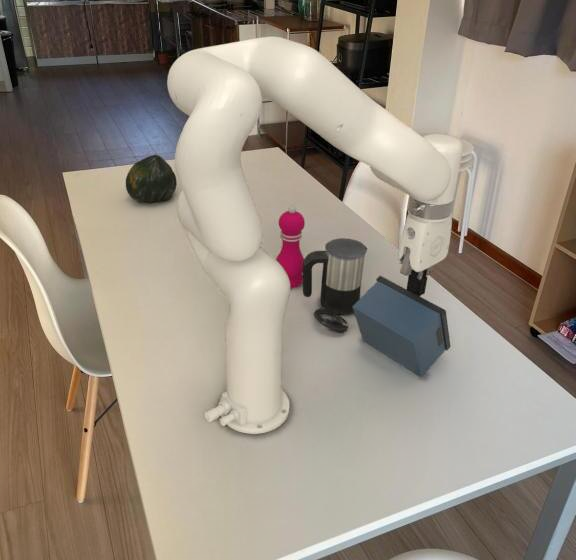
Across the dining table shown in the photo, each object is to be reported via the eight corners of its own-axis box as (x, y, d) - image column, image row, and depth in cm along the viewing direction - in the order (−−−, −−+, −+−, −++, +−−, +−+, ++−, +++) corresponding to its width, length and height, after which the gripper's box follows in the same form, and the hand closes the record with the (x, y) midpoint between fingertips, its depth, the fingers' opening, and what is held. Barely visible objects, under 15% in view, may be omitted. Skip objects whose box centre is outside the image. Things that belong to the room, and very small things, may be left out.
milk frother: (349, 290, 138) (355, 234, 131) (382, 327, 126) (390, 268, 118) (294, 300, 134) (297, 244, 126) (322, 340, 121) (327, 280, 114)
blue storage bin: (422, 378, 112) (415, 343, 103) (362, 340, 122) (350, 305, 113) (450, 346, 115) (445, 309, 106) (389, 311, 125) (379, 275, 116)
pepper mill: (301, 291, 137) (305, 214, 127) (271, 287, 139) (273, 210, 128) (306, 275, 143) (310, 201, 133) (278, 271, 145) (279, 198, 134)
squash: (113, 178, 179) (126, 151, 167) (156, 169, 188) (171, 143, 176) (133, 217, 177) (148, 193, 165) (175, 206, 186) (192, 183, 174)
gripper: (421, 225, 96) (406, 315, 106) (471, 201, 105) (453, 287, 114) (386, 210, 101) (375, 298, 110) (437, 189, 109) (422, 272, 119)
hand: (415, 292), depth 112 cm, fingers closed
